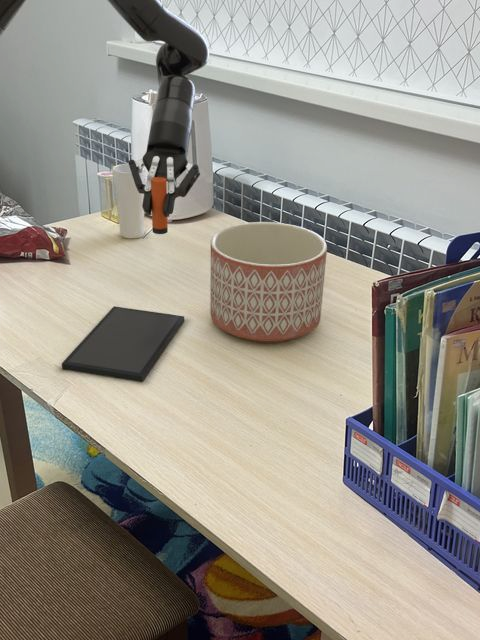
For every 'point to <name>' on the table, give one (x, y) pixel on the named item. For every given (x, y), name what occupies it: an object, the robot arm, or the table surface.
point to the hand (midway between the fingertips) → (157, 213)
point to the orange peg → (158, 205)
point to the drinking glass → (128, 202)
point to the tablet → (124, 344)
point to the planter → (267, 280)
